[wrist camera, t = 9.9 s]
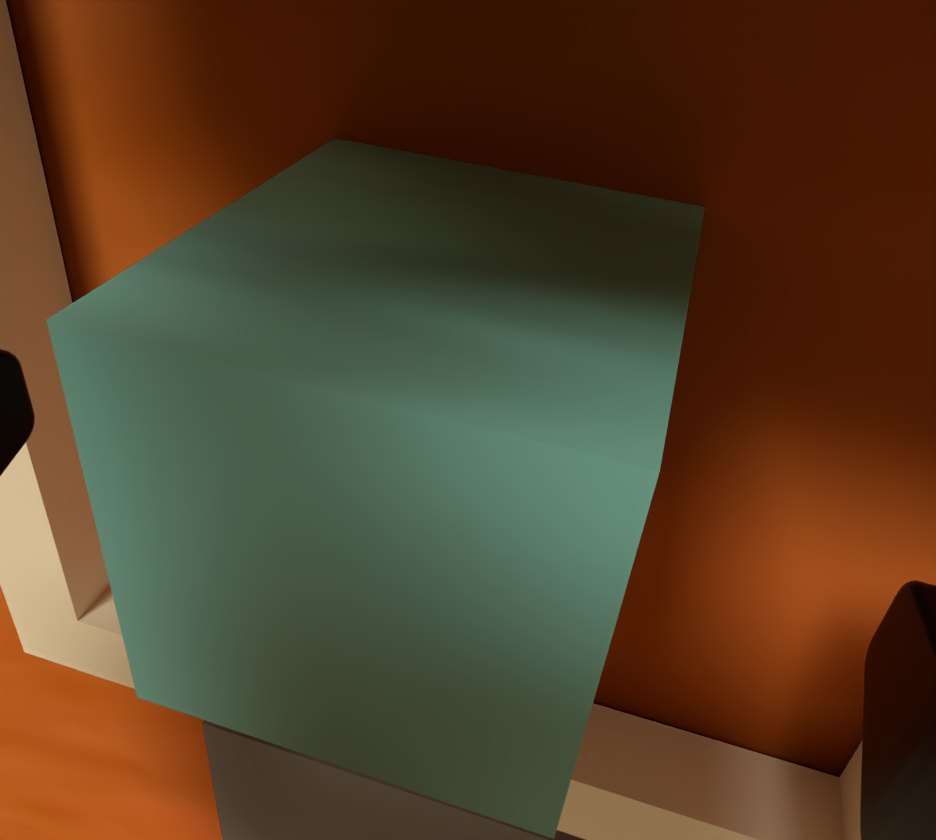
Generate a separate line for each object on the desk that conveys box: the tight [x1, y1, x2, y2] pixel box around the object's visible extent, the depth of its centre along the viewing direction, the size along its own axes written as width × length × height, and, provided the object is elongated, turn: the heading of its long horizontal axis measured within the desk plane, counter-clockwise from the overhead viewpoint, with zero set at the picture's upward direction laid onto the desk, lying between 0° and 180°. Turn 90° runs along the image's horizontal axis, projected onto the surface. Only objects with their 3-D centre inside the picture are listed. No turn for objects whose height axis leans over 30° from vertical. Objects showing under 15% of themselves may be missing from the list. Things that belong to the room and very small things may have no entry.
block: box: [46, 138, 705, 839], centre depth 9 cm, size 4×4×5 cm
